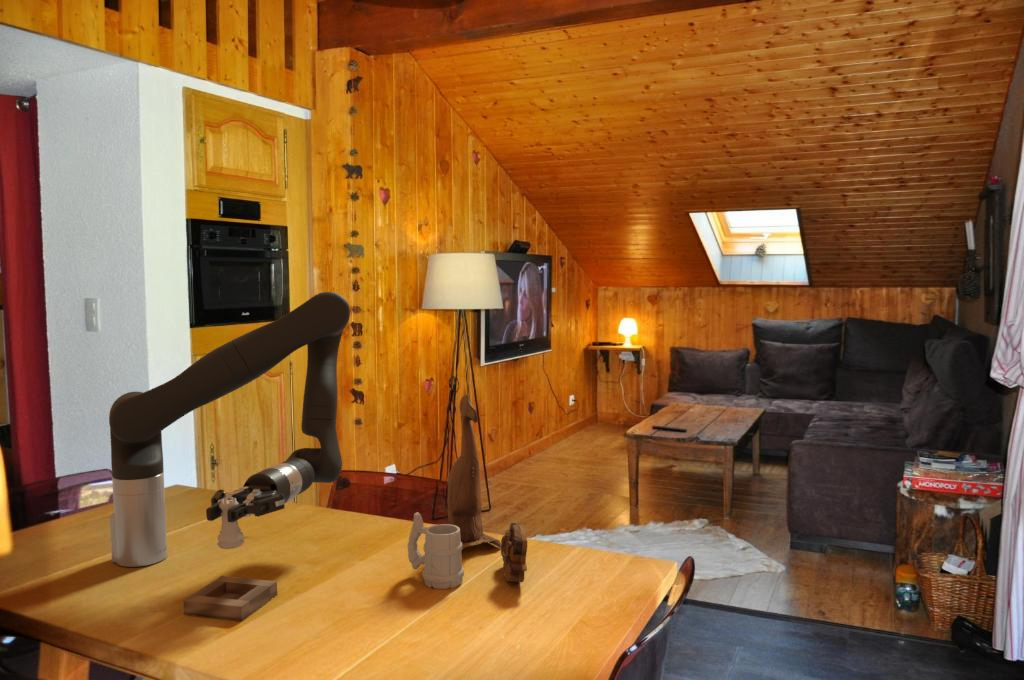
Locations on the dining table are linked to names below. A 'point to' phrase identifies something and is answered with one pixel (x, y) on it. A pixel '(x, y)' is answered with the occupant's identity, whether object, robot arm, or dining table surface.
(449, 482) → the bird sculpture
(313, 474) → the robot arm
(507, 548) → the wooden carving
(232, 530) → the rook chess piece
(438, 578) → the mug
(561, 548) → the dining table surface
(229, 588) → the square tray
